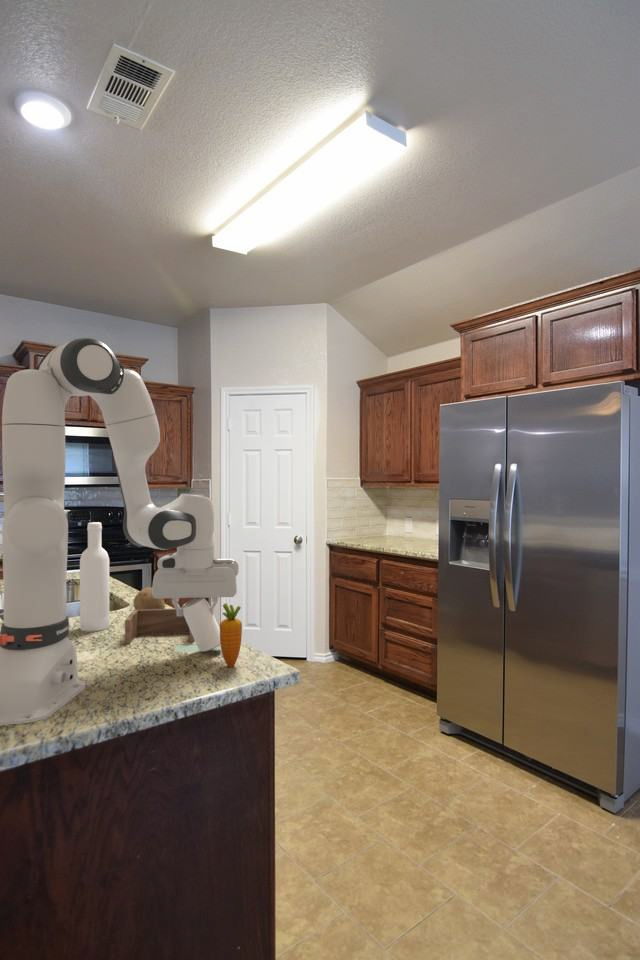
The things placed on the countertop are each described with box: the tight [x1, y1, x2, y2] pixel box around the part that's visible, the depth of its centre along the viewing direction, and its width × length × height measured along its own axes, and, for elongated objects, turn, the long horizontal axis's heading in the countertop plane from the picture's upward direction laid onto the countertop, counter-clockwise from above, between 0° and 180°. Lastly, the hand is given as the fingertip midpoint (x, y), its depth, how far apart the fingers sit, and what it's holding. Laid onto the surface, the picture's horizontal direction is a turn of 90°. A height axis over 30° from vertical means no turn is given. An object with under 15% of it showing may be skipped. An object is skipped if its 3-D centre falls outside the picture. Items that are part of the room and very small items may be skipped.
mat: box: [173, 644, 221, 653], centre depth 131 cm, size 11×11×1 cm
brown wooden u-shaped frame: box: [124, 608, 195, 645], centre depth 143 cm, size 10×17×6 cm, turn 97°
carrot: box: [219, 603, 243, 668], centre depth 121 cm, size 5×5×15 cm
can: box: [181, 598, 221, 653], centre depth 131 cm, size 6×6×12 cm
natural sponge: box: [132, 586, 166, 610], centre depth 160 cm, size 9×9×10 cm
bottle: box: [79, 521, 111, 633], centre depth 152 cm, size 8×8×30 cm
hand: (195, 615), depth 131 cm, fingers closed on can, 6 cm apart
